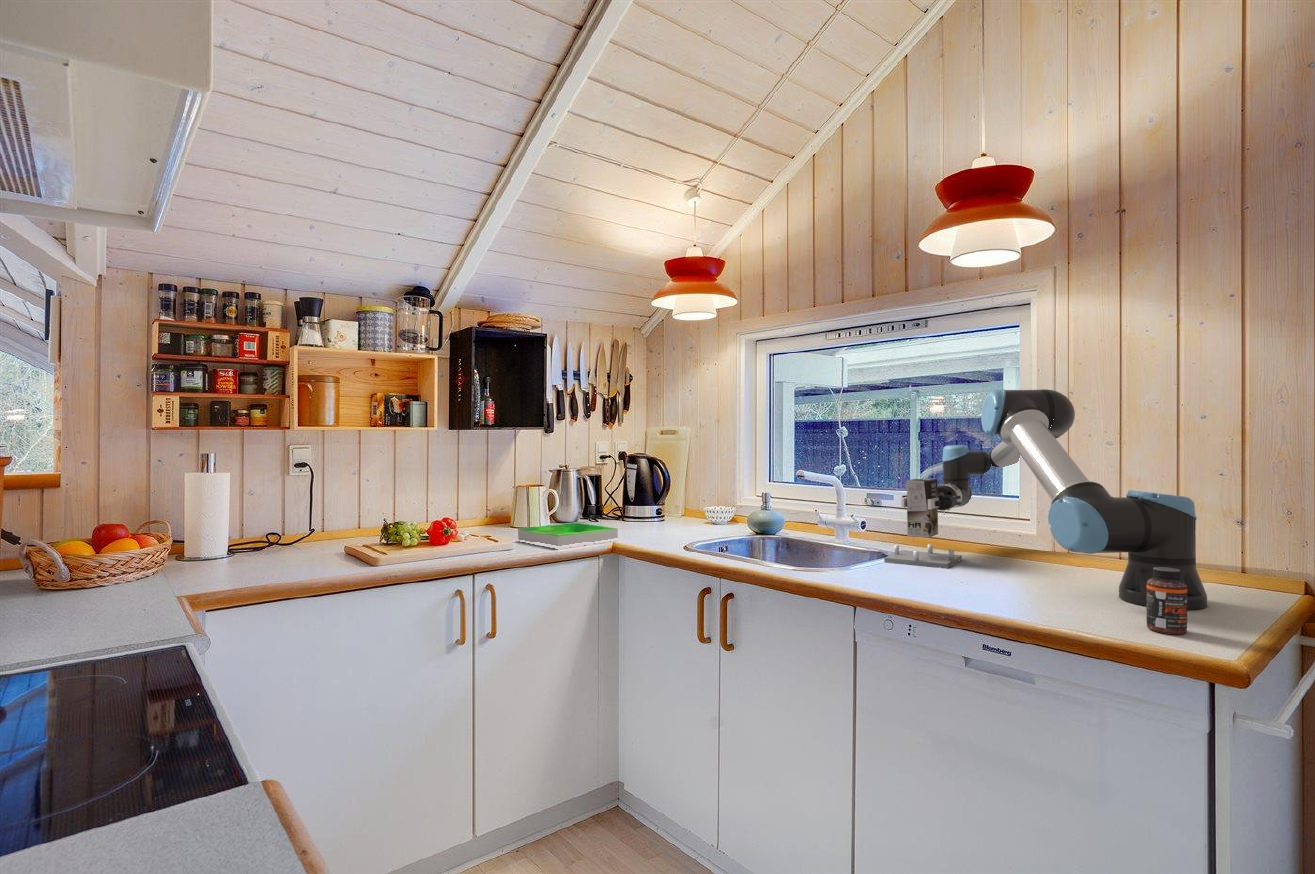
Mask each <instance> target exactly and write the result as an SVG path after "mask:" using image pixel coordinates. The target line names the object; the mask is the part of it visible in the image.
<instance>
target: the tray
mask: <svg viewBox="0 0 1315 874" xmlns="http://www.w3.org/2000/svg"><path fill="white" fill-rule="evenodd" d="M618 533H619V531H618V528H617V527H609V526H603V525H597V524H589V523H583V522H582V523H581V522H570V523H569V522H568V523H561V524H552V525H543V526H533V527H526V528H518V529H517V540H518V539H519V540H525V541H530V542H540V543H545V544H551V545H556V546H562V545H569V544H575V543H582V542H595V541H601V540H608V539H614V538H618V539H619V534H618Z"/></svg>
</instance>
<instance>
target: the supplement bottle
mask: <svg viewBox="0 0 1315 874" xmlns="http://www.w3.org/2000/svg"><path fill="white" fill-rule="evenodd" d="M1180 577H1181V576H1180V570H1178V569H1174V568H1167V567H1154V568H1153V577H1152V578H1151V579H1149V580H1148V581H1147V606H1146V627H1147V629H1149V630H1151V631H1153V632H1155V633H1159V634H1163V635H1165V634H1166V635H1171V636H1172V635H1173V636H1174V635H1175V636H1179V635H1184V634H1186V633H1187V632H1188V621H1189V619H1188V610H1187V586H1186V584H1185V583H1184V582H1183V581H1182V580H1181V579H1180Z"/></svg>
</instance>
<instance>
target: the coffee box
mask: <svg viewBox="0 0 1315 874" xmlns="http://www.w3.org/2000/svg"><path fill="white" fill-rule="evenodd" d="M937 486H938V478H913V479H912V478H911V479H906V495H907V507H906V516H907V517H906V525H907V526H906V527H907V528H906V535H907V537H911V538H912V537H913V538H925V539H930V538H933V537H935V536H937V535H939V510H938V508H935V509H928V499H933V498H938V489H937Z"/></svg>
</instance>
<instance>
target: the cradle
mask: <svg viewBox="0 0 1315 874" xmlns="http://www.w3.org/2000/svg"><path fill="white" fill-rule="evenodd" d="M933 549H934V547H933V544H931V543H928V544H927V551H920V550H909V549H908V550H906V549H901V550H900V545H899V544H895V545H893V553H892V554H889V555H888V556H885V557H884V563H889V564H890V563H891V564H900V565H911V566H922V567H929V568H930V567H931V568H939V567H941V569H949V568H950V566H951V567H952V566H954V565H955V564H957V563H959V562H960V561H962V560H963V555H962V554H955V550H954V549H948V553H943V552H941V553H940V552H933V551H934V550H933ZM961 559H962V560H961ZM959 560H960V561H959ZM958 561H959V562H958ZM956 562H957V563H956ZM953 564H954V565H953Z"/></svg>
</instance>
